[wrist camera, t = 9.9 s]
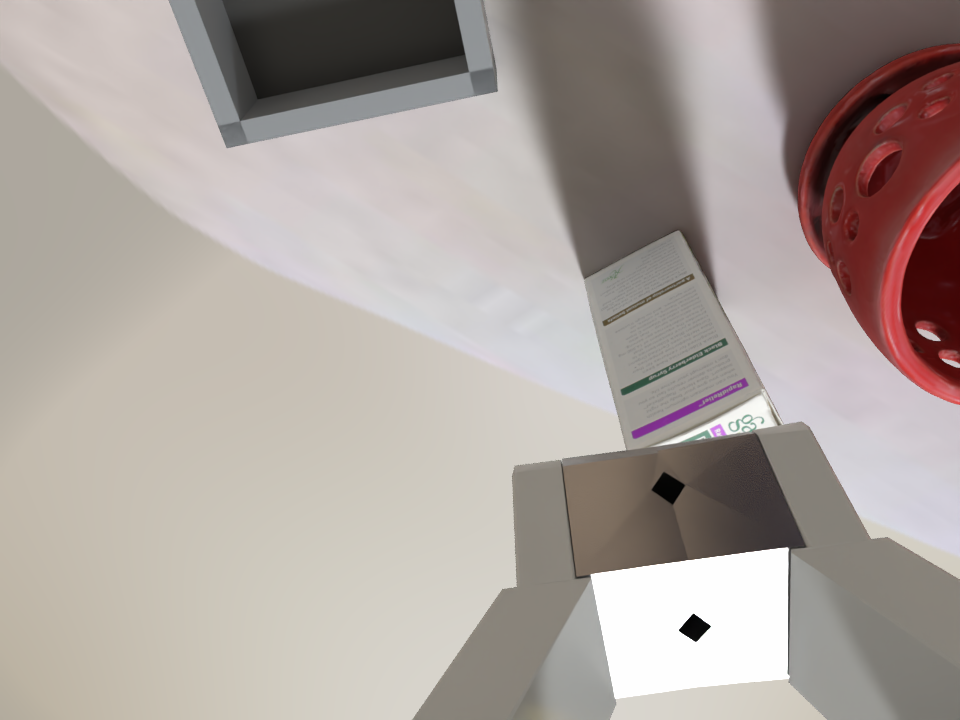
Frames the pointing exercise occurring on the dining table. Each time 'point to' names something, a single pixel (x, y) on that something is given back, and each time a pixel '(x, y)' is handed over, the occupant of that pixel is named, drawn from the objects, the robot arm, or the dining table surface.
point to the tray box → (332, 60)
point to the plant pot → (894, 211)
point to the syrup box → (673, 350)
